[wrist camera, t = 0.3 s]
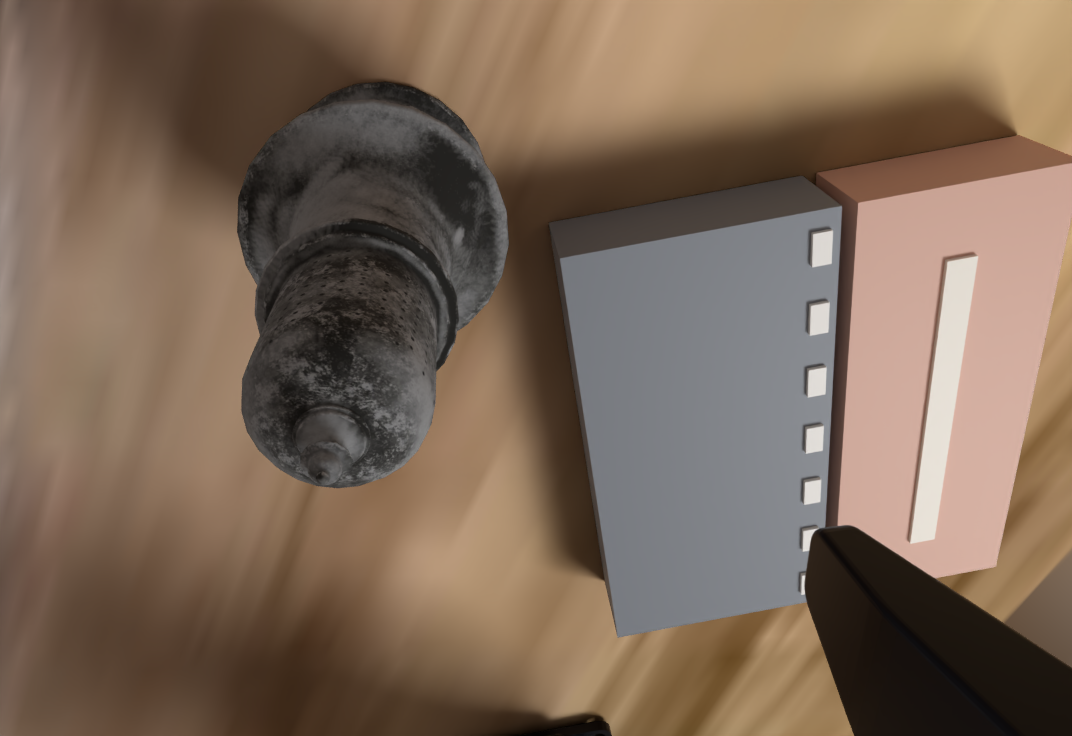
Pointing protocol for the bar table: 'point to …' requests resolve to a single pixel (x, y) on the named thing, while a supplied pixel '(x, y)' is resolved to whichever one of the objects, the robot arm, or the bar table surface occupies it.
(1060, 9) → the bar table surface
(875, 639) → the robot arm
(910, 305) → the pink block
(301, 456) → the dark grey tiered figure
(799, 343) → the grey flat block
